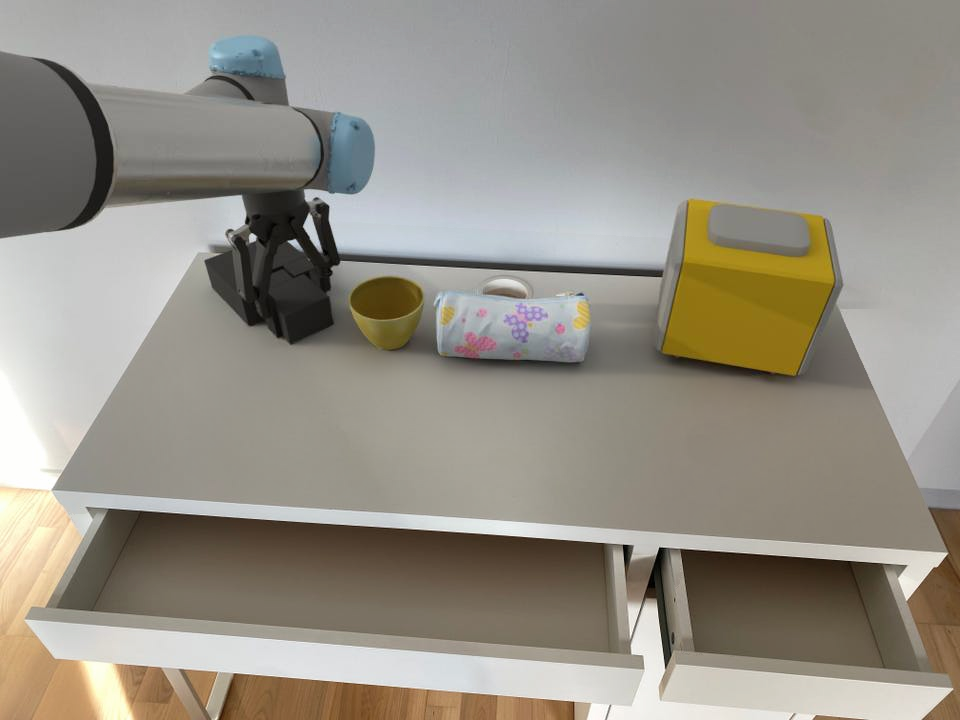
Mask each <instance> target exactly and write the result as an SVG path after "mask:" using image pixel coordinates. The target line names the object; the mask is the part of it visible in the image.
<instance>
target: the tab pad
mask: <svg viewBox="0 0 960 720" xmlns="http://www.w3.org/2000/svg"><path fill="white" fill-rule="evenodd" d="M268 293H269V294H270V295H271V296H272V297H273V298H274V301H275V306H276V310H277V315H278V319H279V323H280V328H281V332H282V336H281V337H282V338H283V339H284V340H285V341H286V342H287V343H288V344H289V345H292V344H295V343H298V342H299V341H301V340H303V339H306V338H308V337H310V336H313V335H314V334H317V333H319V332H321V331H323V330H325V329H327V328H329V327H331V326H333V325H335V323H334V322H335V321H334V317H333V310H332V304H331V298H330V296H329V295H328V293H327V294H326V293H325V292H324V291H323V290H321V289H320V288H319V287H318V286H317V285H316V284H315V283H313V282H312V281H311V280H310V279H309V278H308V277H307V276H305V275H304V274H302V275H300V276H298V277H295V278H292V277H291V276H290V275H289V274H288V273H287V272H286V271H285V270H283V269H282V270H279V271H277V272H274V273H272V274H271V280H270V286H269V292H268Z"/></svg>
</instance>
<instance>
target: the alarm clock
mask: <svg viewBox="0 0 960 720" xmlns="http://www.w3.org/2000/svg"><path fill="white" fill-rule="evenodd" d="M668 245H669V246H668V249H667V255H666V259H665V264H664V268H663V272H662V277H661V282H660V285H659V293H658V294H659V295H658V302H657V310H656V318H655V319H656V320H655V328H654V335H653V346H654V348H655V350H656V351H658V352H659V353H661V354H665V355H670V356H674V358H677V359H679V358H680V357H681V358H686V359H687V358H688V359H694V360H700V361H705V362H711V363H716V364H717V363H718V364H723V365H728V366H735V367H740V368H746V369H752V370H756V371H757V370H758V371H764V372H768V373H769V374H771V375H775V374H781V375H786V376H792V377H796V376H800V375H803V374H805V373H806V372H807V371H808V369H809V366H810V363H811V362H812V359H813V358H814V354H815V353H816V350H817V347H818V345H819V344H820V341H821V340H822V336H823V334H824V332H825V329H826V327H827V325H828V323H829V320H830V318H831V315H832V314H833V311H834V309H835V306H836V303H837V302H838V299H839V297H840V295H841V292H842V289H843V287H844V281H843V277H842V270H841V267H840V266H841V265H840V261H839V256H838V251H837V246H836V242H835V235H834V231H833V227H832V224H831V221H830V220H829V219H828V218H826V217H825V218H824V217H823V215H818V214H809V213H803V212H795V211H789V210H780V209H773V208H764V207H759V206H758V207H757V206H750V205H742V204H734V203H729V202H728V203H727V202H719V201H713V200H712V201H711V200H704V199H697V198H689V199H685V200H683V201H682V202H680V203H679V204H678V205H677V208H676V213H675V219H674V222H673V227H672V230H671V236H670V240H669V244H668Z"/></svg>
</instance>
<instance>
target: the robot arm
mask: <svg viewBox="0 0 960 720" xmlns="http://www.w3.org/2000/svg"><path fill="white" fill-rule="evenodd" d="M207 56H208V61H209V65H208V66H209V67H208V68H209V71H210V72H211V75H210V76H209V77H207V78H206V79H205V80H203V82H201V83H199V84H197V85H196V86H194V87H192V88H190V89H189V90H187V91H186V92H184V93H178V92H177V93H176V92H169V91H168V92H166V91H159V90H151V89H143V88H142V89H141V88H135V87H134V88H133V87H124V86H116V85H109V84H101V83H91V82H87V81H86V80H85V79H84V78H83V77H81V75H79V74H78V73H77V72H76V71H74V70H73V69H71V68H69V66H68V67H67V66H66V65H64V64H62V63H60V62H57V61H54V60H50V59H46V58H42V57H41V58H40V57H33V56H26V55H21V54H16V53H11V52H6V51H1V50H0V239H7V238H14V237H22V236H28V235H35V234H42V233H52V232H60V231H69V230H74V229H77V228H81V227H84V226H86V225H87V224H89V223H91V222H93V220H95V219H96V218H97V217H99V215H100V214H101V213H102V212H103V211H104V210H105V209H111V208H112V209H113V208H123V207H133V206H142V205H143V206H145V205H153V204H154V205H155V204H162V203H175V202H185V201H194V200H195V201H196V200H206V199H215V198H216V199H217V198H225V197H227V198H228V197H237V196H241V199H242V202H243V207H244V210H245V219H244V224H243V225H242V226H240V227H238V228H236V229H235V230H234V229H233V228H227V230H226V231H225V234H224V235H225V237H226V239H227V241H228V242H229V244H230V246H231V250H232V253H233V261H234V269H235V277H236V285H237V292H238V294H239V295H240V296H241V297H242V298H243V299H244V300H245V301H246V302H247V303H251V302H253V301H255V304H256V308H257V312H258V313H259V314H260V316H261V317H262V318H263V319H264V320H266V325H267V328H268V330H269V331H270V332H271V333H272V334H273V335H274V336H275V337H276V338H277V339H278V338H280V337H282V332H281V328H280V323H279V319H278V315H277V310H276V306H275V301H274V298H273V297H272V296H271V295H270V294H269V293H268V292H269V286H270V280H271V273H272V267H273V261H274V255H276V254H277V249H278V246H279V245H281V244H283V243H284V242H286V241H288V242H290V241H294V240H296V243H298V245H299V246H300V248H301V249H302V251H303V252H304V255H305V256H306V258H308V259H309V260H310V261H311V262H312V264H313V265H314V266H315V267H316V270H315V269H311V270H309V271H310V277H311V281H312V282H313V283H315V284H316V285H317V286H318V287H319V288H320V289H321V290H323V291H324V292H325V293H326V294H327V295H328V292H330V291H331V289H332V284H331V278H330V277H332V276H333V274H334V271H333V269H332V268H333V267H338V266H340V264H341V258H340V255H339V251H338V247H337V244H336V240H335V236H334V232H333V230H332V226H331V223H330V207H331V206H330V205H329V204H328V203H327V202H326V201H324V200H323V199H321V198H320V197H318V196H316V197H314V198H312V200H310V201H307V200H306V193H305V190H315V191H323V192H327V193H328V194H331V195H334V194H343V195H357V194H358V193H360V192H361V191H363V190H364V189H365V188H366V186H368V185H367V184H368V183H369V182H370V180H371V177H372V173H373V171H374V165H375V157H376V144H375V142H376V141H375V137H374V133H373V130H372V128H371V127H370V125H369V124H368V122H367V121H366V120H365V119H363V118H361V117H359V116H354V115H350V114H344V113H342V112H340V111H334V112H333V111H327V110H320V109H313V108H306V107H299V106H291V105H290V101H289V96H288V95H289V94H288V89H287V83H286V82H287V81H286V79H287V77H286V74H285V72H284V67H283V63H282V60H281V55H280V51H279V49H278V46H277V45H276V44H275V43H274V42H273V41H271V40H270V39H269V38H266V37H263V36H260V35H253V34H252V35H251V34H248V35H247V34H245V35H244V34H243V35H241V34H240V35H232V36H228V37H225V38H220V39H218V40H216V41H215V42H213V43H212V44H211V45H210V47H209V51H208V55H207ZM309 215H310V216H311V218H312V223H313V226H314V229H315V232H316V235H317V238H318V242H319V246H320V248H321V251H322V254H321V253H320V251H319V250H318V248H317V247H316V246H315V243H314V242H313V241H312V239H311V237H310V235H309V233H308V232H307V231H306V229H305V227H304V225H305V223H306V221H307V219H308V217H309ZM251 234H253V235H254V236H255V241H256V246H257V251H256V258H255V264H254V271H253V278H252V271H251V262H250V254H249V250H248V247H247V246H249V244H250V243H251V242H250V236H251ZM322 255H323V256H322ZM264 320H263V321H264Z"/></svg>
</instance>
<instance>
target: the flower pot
mask: <svg viewBox="0 0 960 720" xmlns="http://www.w3.org/2000/svg"><path fill="white" fill-rule="evenodd" d="M425 297H426V295H425V292H424V290H423V288H422V287H421V285H419V284H418V283H417V282H416V281H414V280H411V279H409V278H406V277H403V276H398V275H397V276H395V275H382V276H377V277H372V278H369V279H366V280H364V281H361V282H360V283H359V284H357V285H356V286H355V287H353V289H352V290H351V292H350V293H349V295H348V305H349V308H350V311H351V314H352V316H353V319H354V321H355V323H356V324H357V326H358V328H359V329H360V331H361V333H362V334H363V335H364V337H366V339H367V340H368V341H369V342H370V343H371V344H372V345H373V346H375V348H377V349H381V350H384V351H385V350H386V351H392V350H398V349H400V348H402V347H404V346H405V345H406V344H407V343H408V341H410V339H411V337H412V336H413V335H414V334H415V332H416V329H417V327H418V325H419V323H420V320H421V318H422V316H423V315H422V314H423V311H424V306H425V299H426V298H425Z"/></svg>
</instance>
